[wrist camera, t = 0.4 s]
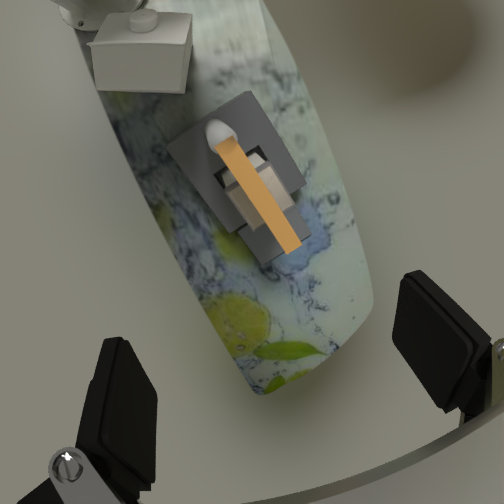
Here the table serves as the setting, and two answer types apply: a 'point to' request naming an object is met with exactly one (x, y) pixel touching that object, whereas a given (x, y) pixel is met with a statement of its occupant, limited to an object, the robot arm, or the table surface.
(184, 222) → the table surface
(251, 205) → the plug
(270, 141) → the socket
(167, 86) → the milk carton
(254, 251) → the mat
